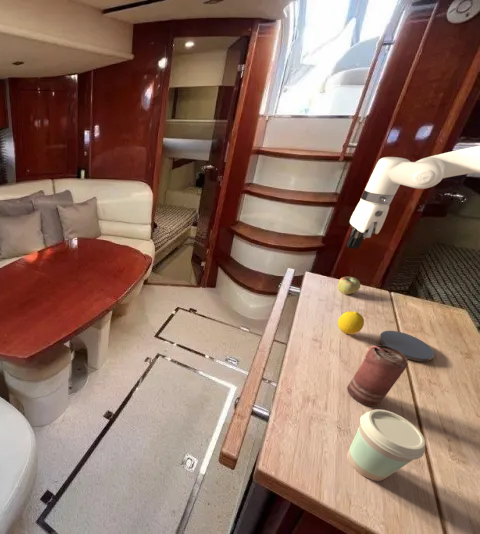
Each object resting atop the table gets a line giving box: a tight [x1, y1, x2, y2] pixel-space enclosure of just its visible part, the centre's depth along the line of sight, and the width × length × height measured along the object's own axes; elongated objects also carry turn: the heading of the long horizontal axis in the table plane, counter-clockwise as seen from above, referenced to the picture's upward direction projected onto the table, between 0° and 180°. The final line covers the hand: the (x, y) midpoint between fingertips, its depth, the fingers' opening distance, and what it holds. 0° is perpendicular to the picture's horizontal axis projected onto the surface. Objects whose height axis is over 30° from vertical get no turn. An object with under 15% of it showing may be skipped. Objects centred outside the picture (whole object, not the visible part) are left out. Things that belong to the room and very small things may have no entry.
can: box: [346, 344, 409, 407], centre depth 69 cm, size 6×6×14 cm
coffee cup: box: [346, 409, 426, 482], centre depth 57 cm, size 8×8×12 cm
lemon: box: [337, 310, 365, 335], centre depth 89 cm, size 6×6×8 cm
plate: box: [378, 330, 435, 362], centre depth 85 cm, size 11×11×2 cm
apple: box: [337, 276, 361, 295], centre depth 108 cm, size 6×8×6 cm
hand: (352, 247), depth 109 cm, fingers closed
